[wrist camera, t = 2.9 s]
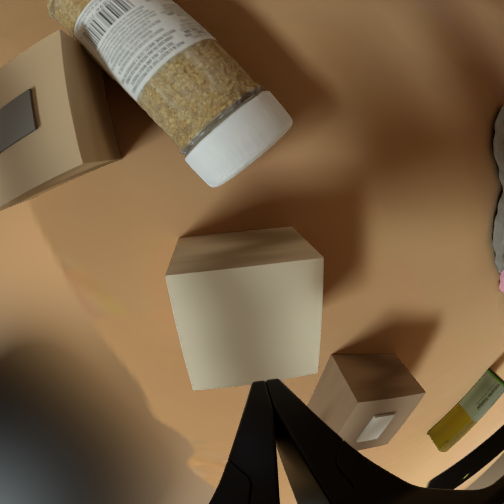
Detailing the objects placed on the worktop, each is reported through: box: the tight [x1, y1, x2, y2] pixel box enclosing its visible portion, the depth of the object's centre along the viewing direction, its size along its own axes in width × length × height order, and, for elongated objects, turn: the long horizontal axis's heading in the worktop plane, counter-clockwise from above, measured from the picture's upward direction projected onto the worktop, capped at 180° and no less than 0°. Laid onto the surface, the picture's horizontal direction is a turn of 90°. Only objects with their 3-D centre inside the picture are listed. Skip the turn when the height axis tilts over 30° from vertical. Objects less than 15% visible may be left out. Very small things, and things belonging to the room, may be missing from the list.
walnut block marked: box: [307, 354, 426, 450], centre depth 18 cm, size 6×6×5 cm
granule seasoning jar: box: [47, 0, 293, 187], centre depth 10 cm, size 5×5×13 cm
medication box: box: [427, 368, 504, 452], centre depth 25 cm, size 12×3×4 cm, turn 142°
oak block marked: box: [0, 29, 122, 211], centre depth 10 cm, size 6×6×5 cm
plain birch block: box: [165, 226, 324, 390], centre depth 14 cm, size 6×6×5 cm
